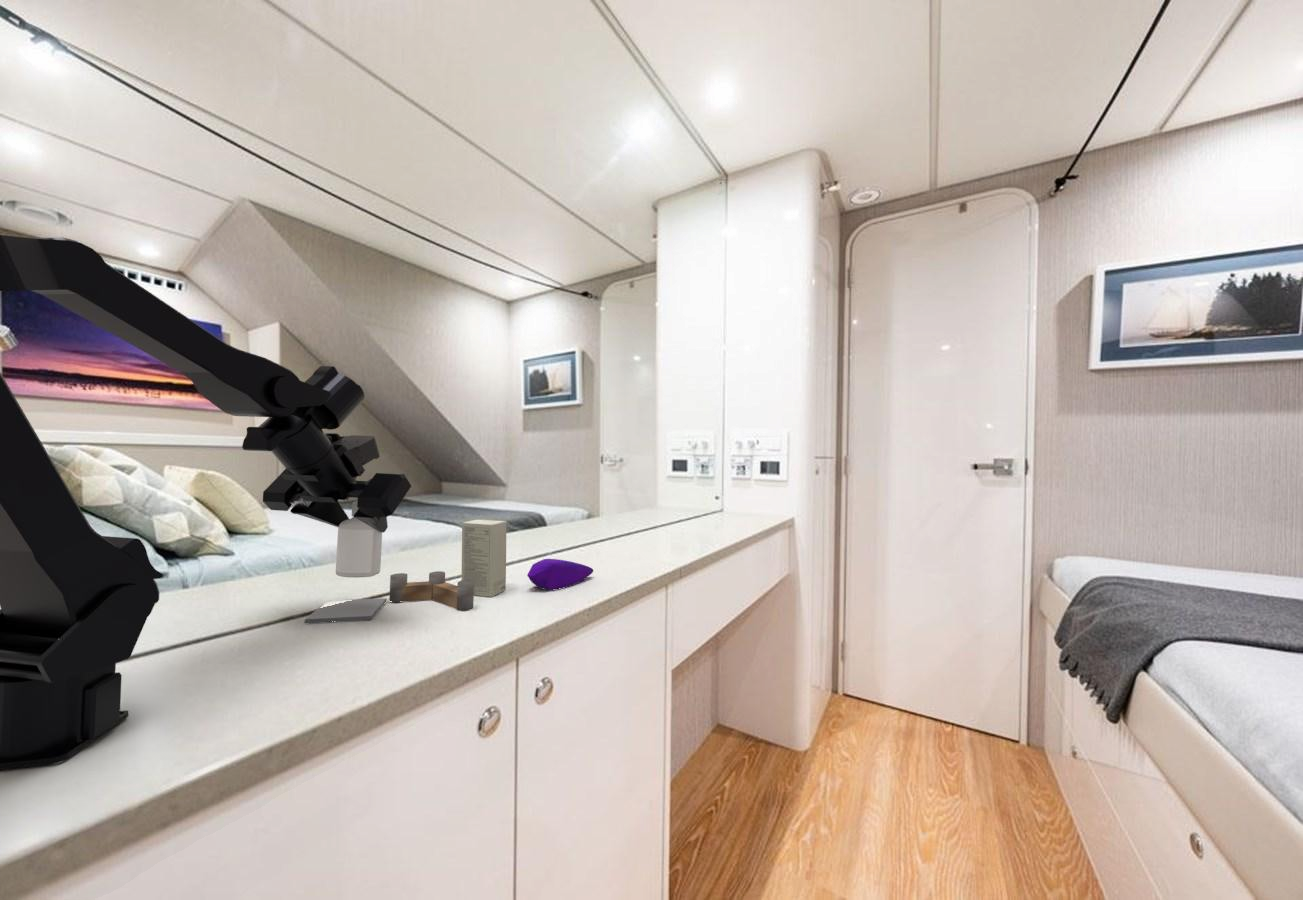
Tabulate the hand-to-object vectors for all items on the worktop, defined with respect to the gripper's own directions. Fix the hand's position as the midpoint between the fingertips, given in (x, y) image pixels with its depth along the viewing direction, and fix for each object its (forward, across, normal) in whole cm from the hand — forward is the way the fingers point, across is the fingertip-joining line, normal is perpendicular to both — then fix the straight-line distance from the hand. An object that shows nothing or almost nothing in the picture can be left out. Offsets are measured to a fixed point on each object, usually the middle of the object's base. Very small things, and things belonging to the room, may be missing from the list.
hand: (367, 528), depth 70 cm
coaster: (+7, +1, +10) cm, 12 cm away
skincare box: (+17, -13, 0) cm, 21 cm away
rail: (+11, -8, +5) cm, 15 cm away
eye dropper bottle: (+4, 0, +6) cm, 7 cm away
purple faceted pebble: (+22, -24, -6) cm, 33 cm away
